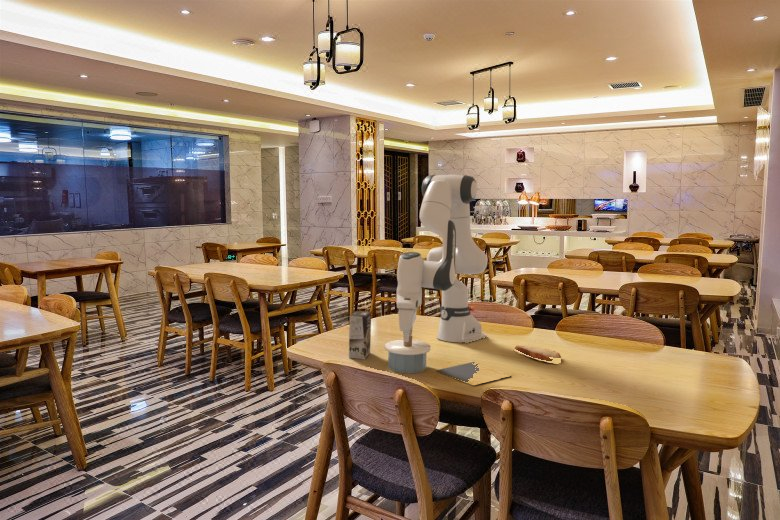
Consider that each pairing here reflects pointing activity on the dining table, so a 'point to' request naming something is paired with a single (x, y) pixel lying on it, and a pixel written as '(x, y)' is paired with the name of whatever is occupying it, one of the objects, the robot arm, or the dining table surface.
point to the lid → (407, 347)
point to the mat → (461, 371)
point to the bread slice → (538, 352)
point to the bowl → (406, 363)
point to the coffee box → (360, 334)
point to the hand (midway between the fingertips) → (407, 338)
